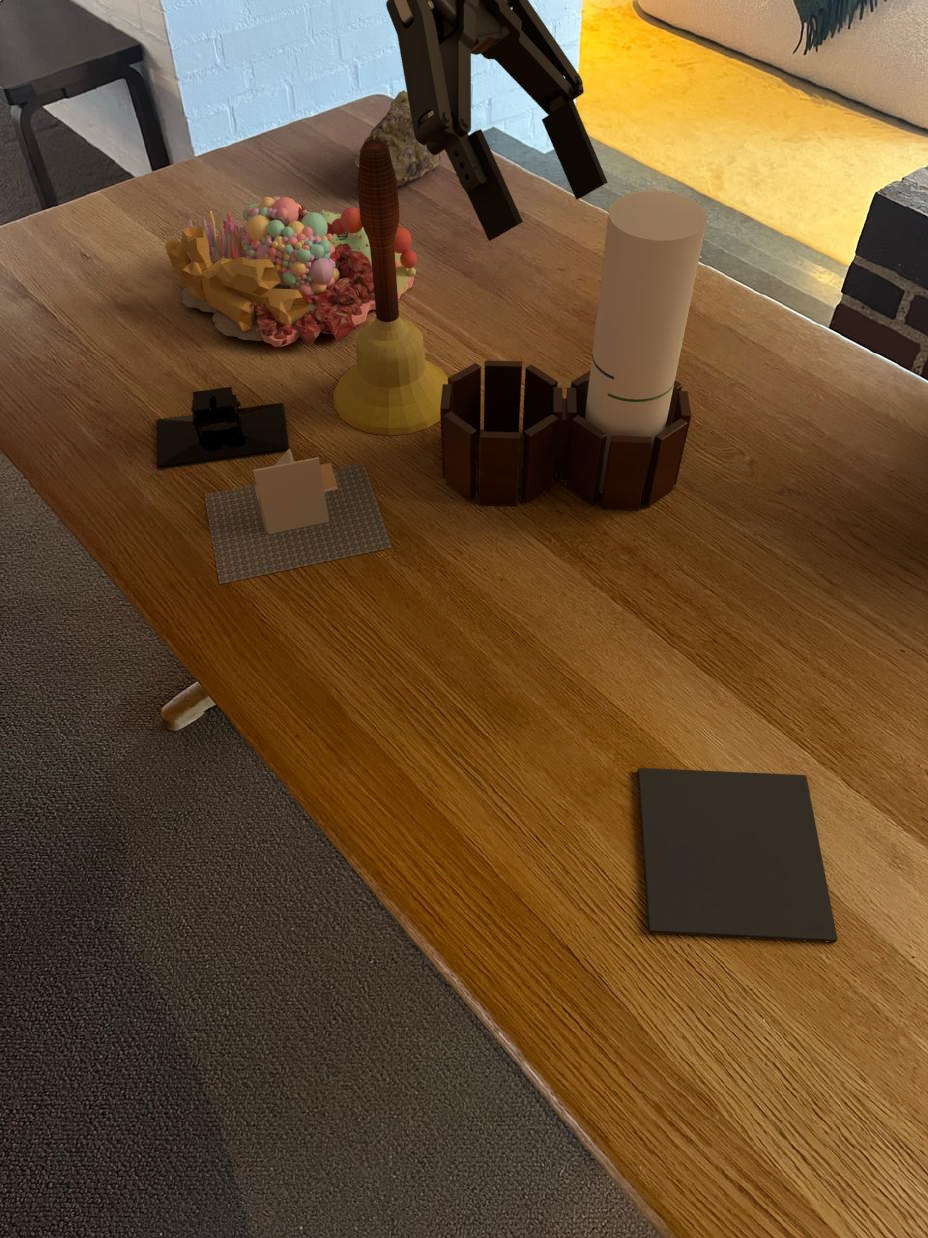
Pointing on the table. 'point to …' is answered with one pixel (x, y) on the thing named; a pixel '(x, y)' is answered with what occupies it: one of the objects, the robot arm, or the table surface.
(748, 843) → the mat
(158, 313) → the table surface
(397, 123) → the mineral rock
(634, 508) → the holder
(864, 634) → the table surface
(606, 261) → the cylindrical container
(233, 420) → the build plate
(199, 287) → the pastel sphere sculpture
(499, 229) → the robot arm
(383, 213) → the handbell
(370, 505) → the architectural model
